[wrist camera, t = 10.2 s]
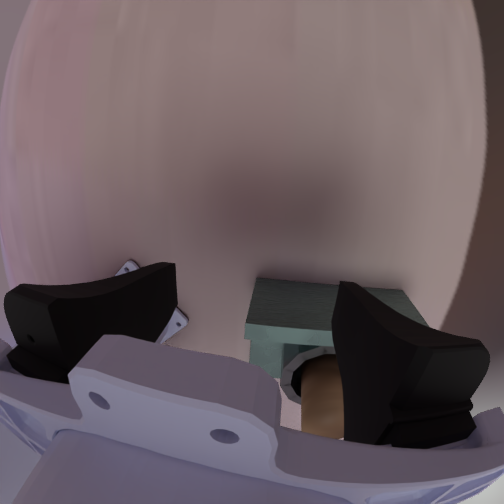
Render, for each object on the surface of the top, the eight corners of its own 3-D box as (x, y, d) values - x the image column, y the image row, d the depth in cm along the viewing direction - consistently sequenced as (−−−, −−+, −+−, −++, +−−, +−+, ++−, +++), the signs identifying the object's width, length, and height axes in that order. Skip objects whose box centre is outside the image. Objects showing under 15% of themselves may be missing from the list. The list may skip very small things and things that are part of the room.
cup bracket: (371, 376, 25) (385, 424, 19) (249, 369, 26) (239, 421, 20) (402, 290, 22) (433, 333, 15) (256, 277, 23) (245, 323, 17)
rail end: (317, 377, 24) (321, 446, 16) (291, 354, 23) (289, 426, 16) (352, 356, 23) (368, 425, 15) (328, 330, 22) (340, 402, 15)
